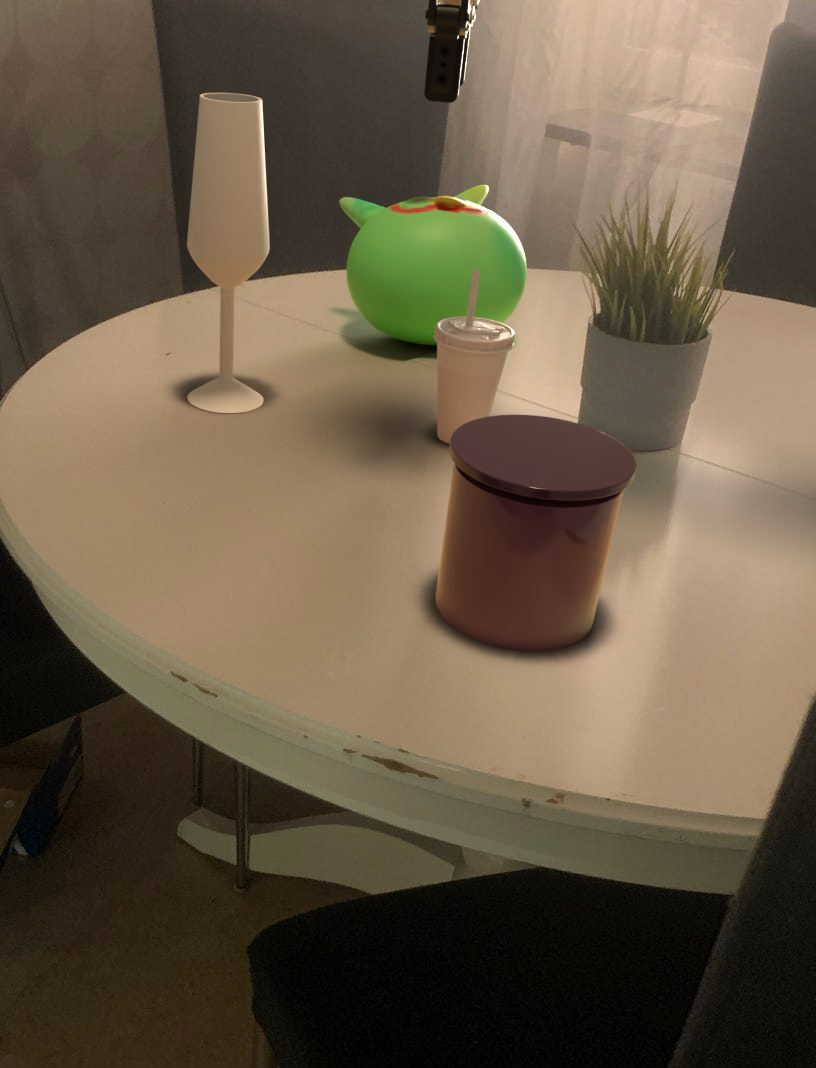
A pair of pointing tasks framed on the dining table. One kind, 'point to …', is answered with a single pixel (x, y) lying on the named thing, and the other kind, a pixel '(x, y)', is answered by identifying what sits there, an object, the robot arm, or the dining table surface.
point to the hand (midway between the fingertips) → (444, 93)
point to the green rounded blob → (432, 263)
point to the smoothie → (468, 366)
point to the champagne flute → (228, 224)
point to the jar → (529, 529)
